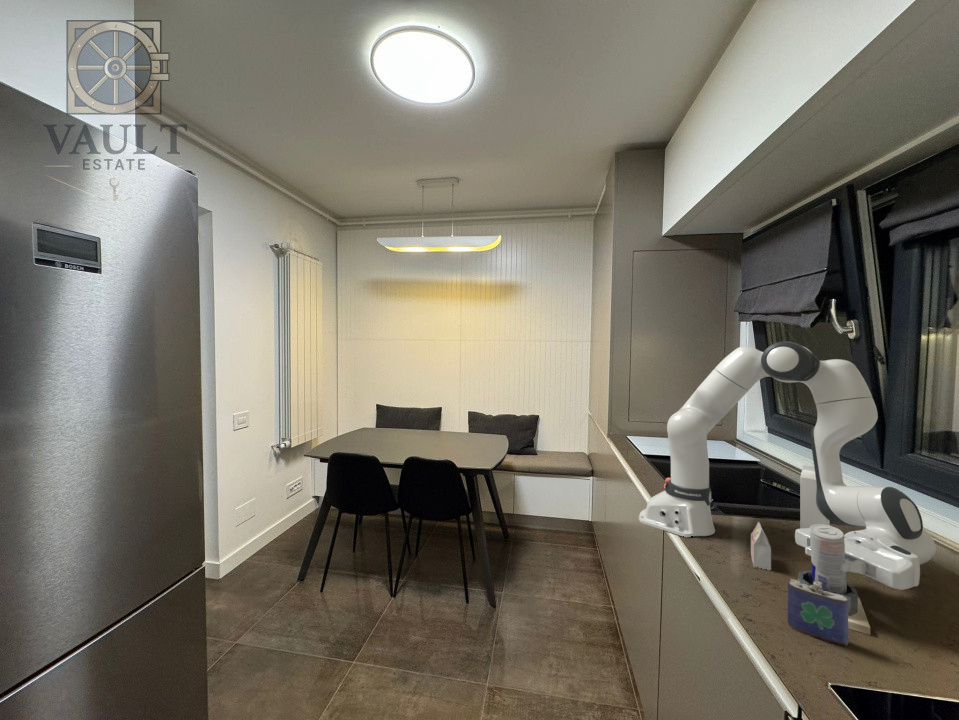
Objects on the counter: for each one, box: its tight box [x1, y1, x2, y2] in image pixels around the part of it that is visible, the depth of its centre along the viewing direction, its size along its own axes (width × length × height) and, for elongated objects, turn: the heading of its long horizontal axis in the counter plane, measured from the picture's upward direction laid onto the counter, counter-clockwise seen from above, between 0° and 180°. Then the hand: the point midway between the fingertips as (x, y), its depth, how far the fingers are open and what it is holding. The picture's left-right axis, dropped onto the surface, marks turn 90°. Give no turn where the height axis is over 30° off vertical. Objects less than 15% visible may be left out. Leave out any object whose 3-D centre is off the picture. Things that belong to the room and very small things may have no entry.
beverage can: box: [810, 524, 847, 595], centre depth 84 cm, size 6×6×15 cm
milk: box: [799, 464, 831, 529], centre depth 116 cm, size 6×6×22 cm
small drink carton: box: [750, 521, 772, 571], centre depth 103 cm, size 4×7×10 cm, turn 150°
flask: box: [787, 580, 850, 647], centre depth 76 cm, size 9×3×11 cm, turn 51°
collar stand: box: [790, 570, 871, 636], centre depth 84 cm, size 12×12×6 cm
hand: (823, 559), depth 84 cm, fingers open, 5 cm apart
